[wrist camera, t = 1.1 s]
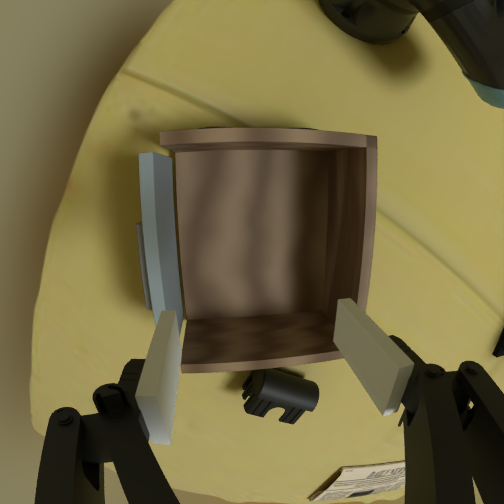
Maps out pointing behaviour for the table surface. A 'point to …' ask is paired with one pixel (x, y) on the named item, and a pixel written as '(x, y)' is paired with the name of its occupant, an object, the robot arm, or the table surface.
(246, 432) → the table surface
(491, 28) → the robot arm
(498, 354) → the typewriter
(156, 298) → the panel
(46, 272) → the table surface
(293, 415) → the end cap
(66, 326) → the table surface
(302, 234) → the box
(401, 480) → the newspaper
